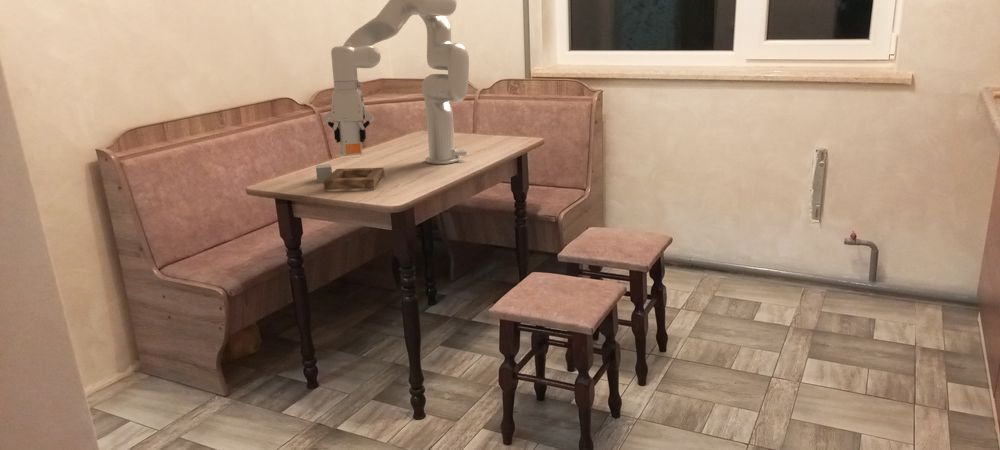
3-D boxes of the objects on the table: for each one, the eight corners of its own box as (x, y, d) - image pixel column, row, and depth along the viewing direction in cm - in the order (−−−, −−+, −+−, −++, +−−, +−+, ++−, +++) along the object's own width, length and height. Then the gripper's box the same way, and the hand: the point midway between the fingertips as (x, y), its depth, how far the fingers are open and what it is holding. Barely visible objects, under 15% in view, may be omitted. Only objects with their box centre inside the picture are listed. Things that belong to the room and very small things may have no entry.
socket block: (384, 177, 258) (383, 167, 257) (374, 190, 242) (373, 179, 241) (337, 178, 259) (336, 168, 258) (324, 191, 243) (323, 180, 242)
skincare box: (344, 156, 244) (341, 119, 241) (340, 154, 248) (337, 117, 244) (362, 154, 247) (359, 117, 243) (358, 152, 250) (356, 115, 247)
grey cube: (332, 178, 260) (331, 164, 259) (332, 181, 256) (331, 167, 254) (317, 179, 259) (316, 165, 258) (317, 182, 255) (315, 168, 253)
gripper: (375, 84, 244) (379, 139, 249) (322, 85, 245) (327, 140, 250) (370, 86, 237) (375, 143, 242) (315, 88, 238) (321, 144, 243)
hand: (350, 141), depth 246 cm, fingers closed on skincare box, 7 cm apart
